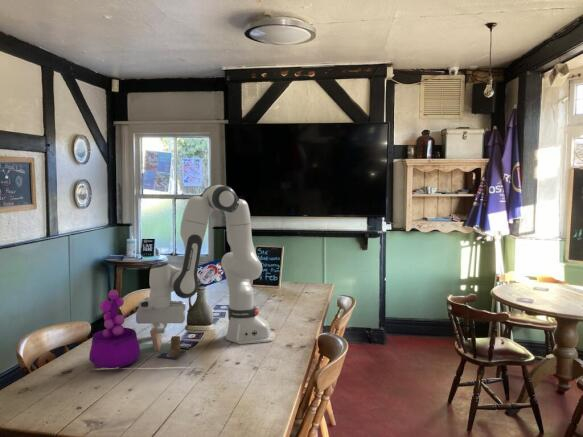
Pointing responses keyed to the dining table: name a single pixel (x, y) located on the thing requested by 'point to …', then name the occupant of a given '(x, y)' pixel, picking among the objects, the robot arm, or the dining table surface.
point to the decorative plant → (114, 338)
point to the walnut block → (175, 346)
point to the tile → (156, 339)
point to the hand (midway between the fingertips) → (160, 333)
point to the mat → (150, 348)
